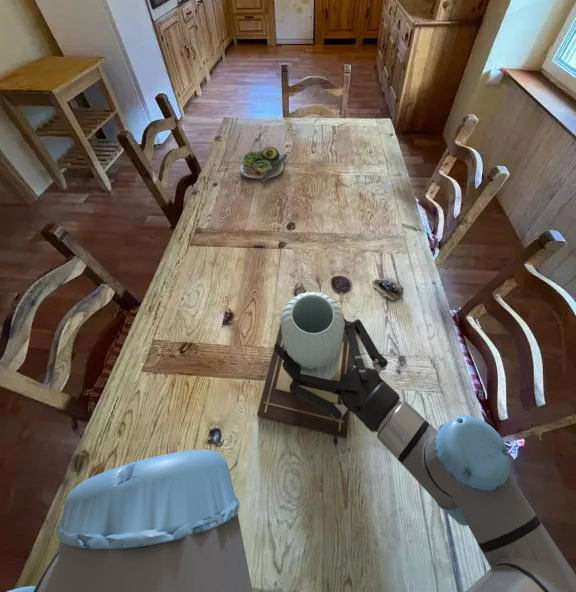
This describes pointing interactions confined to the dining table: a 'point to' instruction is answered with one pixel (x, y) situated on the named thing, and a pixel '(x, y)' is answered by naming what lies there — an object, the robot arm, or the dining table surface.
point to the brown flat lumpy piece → (388, 288)
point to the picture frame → (294, 410)
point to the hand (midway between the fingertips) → (298, 326)
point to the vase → (313, 333)
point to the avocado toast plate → (262, 164)
